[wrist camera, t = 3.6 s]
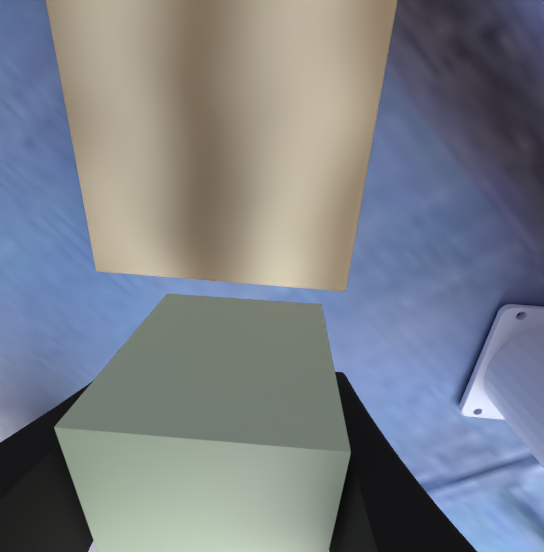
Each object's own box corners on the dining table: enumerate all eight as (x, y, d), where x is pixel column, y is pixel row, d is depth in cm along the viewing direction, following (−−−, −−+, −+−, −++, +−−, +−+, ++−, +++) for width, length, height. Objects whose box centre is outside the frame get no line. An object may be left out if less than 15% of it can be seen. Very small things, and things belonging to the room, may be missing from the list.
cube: (321, 304, 9) (350, 452, 5) (306, 417, 11) (317, 598, 7) (166, 293, 10) (54, 427, 5) (179, 407, 12) (106, 577, 7)
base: (383, -14, 11) (407, -55, 9) (337, 271, 16) (345, 291, 14) (82, -29, 12) (32, -72, 10) (123, 254, 17) (96, 271, 14)
